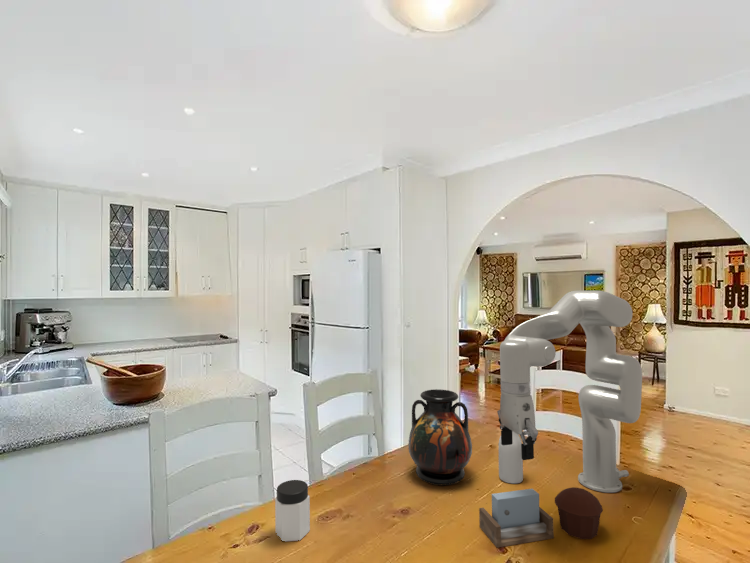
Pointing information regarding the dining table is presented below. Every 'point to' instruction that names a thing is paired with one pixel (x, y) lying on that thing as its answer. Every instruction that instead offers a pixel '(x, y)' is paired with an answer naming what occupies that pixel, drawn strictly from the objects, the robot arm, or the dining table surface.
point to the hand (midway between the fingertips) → (516, 451)
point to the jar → (292, 510)
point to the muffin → (578, 512)
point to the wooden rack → (516, 530)
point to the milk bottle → (511, 461)
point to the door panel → (515, 508)
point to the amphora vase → (440, 438)
